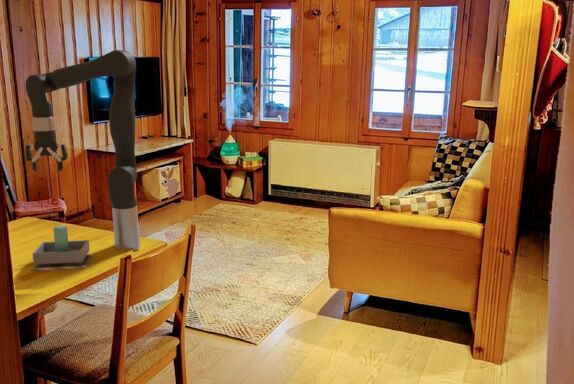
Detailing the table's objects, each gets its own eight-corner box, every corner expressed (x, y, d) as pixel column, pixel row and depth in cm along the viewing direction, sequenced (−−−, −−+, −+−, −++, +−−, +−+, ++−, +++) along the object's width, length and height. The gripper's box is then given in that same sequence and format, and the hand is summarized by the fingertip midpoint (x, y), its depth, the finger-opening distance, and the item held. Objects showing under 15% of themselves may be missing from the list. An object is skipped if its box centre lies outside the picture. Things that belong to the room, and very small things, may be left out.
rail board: (93, 258, 195) (92, 253, 194) (86, 270, 183) (86, 266, 183) (41, 260, 192) (41, 256, 191) (31, 273, 180) (31, 268, 180)
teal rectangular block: (70, 252, 189) (68, 225, 186) (67, 256, 185) (65, 229, 182) (57, 252, 188) (55, 226, 186) (54, 257, 184) (51, 229, 182)
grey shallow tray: (90, 255, 194) (88, 240, 193) (83, 268, 183) (81, 251, 181) (44, 258, 192) (42, 241, 190) (34, 270, 180) (32, 253, 179)
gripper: (20, 130, 191) (25, 173, 195) (61, 130, 193) (65, 173, 197) (27, 127, 198) (31, 169, 202) (66, 127, 201) (70, 169, 205)
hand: (48, 171), depth 200 cm, fingers open, 8 cm apart
